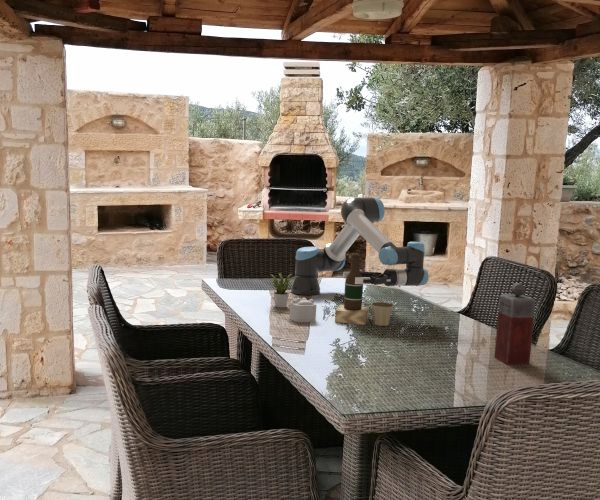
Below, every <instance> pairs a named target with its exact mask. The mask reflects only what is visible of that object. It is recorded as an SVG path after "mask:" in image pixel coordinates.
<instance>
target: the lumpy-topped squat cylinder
mask: <svg viewBox="0 0 600 500" xmlns="http://www.w3.org/2000/svg"><path fill="white" fill-rule="evenodd" d="M289 303H290V304H289V305H290V306H289V319H290V320H291V321H293V322H295V323H314V322H316V319H317V303H316V302H315V300H314V299H313V298H310V299H307V298H306V297H302V298H300V297H296V298H294V299H292V300H291V301H290V302H289Z"/></svg>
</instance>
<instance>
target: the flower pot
mask: <svg viewBox="0 0 600 500" xmlns="http://www.w3.org/2000/svg"><path fill="white" fill-rule="evenodd" d="M371 306H372V307H371V308H372V311H373V314H372V315H373V324H374V325H375V326H380V327H382V326H385V327H387V326H389V325H390V319H391V315H392V311H393V309H394V306H395V304H393V303H391V302H390V303H389V302H383V301H382V302H381V301H379V302H377V301H376V302H375V301H374V302H372V303H371Z"/></svg>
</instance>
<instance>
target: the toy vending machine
mask: <svg viewBox="0 0 600 500" xmlns="http://www.w3.org/2000/svg"><path fill="white" fill-rule="evenodd" d="M510 291H511V293H512V294H511V293H508V294H507V293H506V294H505V293H502V294H500V295H499V299H498V300H499V302H498V310H497V311H498V312H497V324H496V335H495V345H494V346H495V347H494V355H493V357H494V358H495V359H496V360H498V361H499V362H501V363H503V364H504V365H506V366H515V365H516V366H519V365H520V366H521V365H530V362H531V353H532V352H531V350H532V340H533V332H534V331H533V330H534V329H533V328H534V320H535V318H534V317H535V310H536V309H535V308H536V307H535V306H536V300H535V299H534V298H533V297H529V296H528V295H527V296H526V295H524V294H525V292H526V287H525V285H524V284H522V283H518V282H515V283H513V284H512V285H511V288H510Z"/></svg>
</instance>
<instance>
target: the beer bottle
mask: <svg viewBox="0 0 600 500" xmlns="http://www.w3.org/2000/svg"><path fill="white" fill-rule="evenodd" d="M360 258H361V254H359V253H355V252H353V253H352V254H351V262H350V270H349V271H348V272H349V274H348V275H347V277H346V278H345V282H344V293H343V294H344V297H343V305H344V308H345V309H347V310H360V309H361V308H362V306H363V296H364V295H363V293H364V292H363V291H364V284H355V277H362V275H361V274H360V271H361V270H360Z"/></svg>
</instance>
